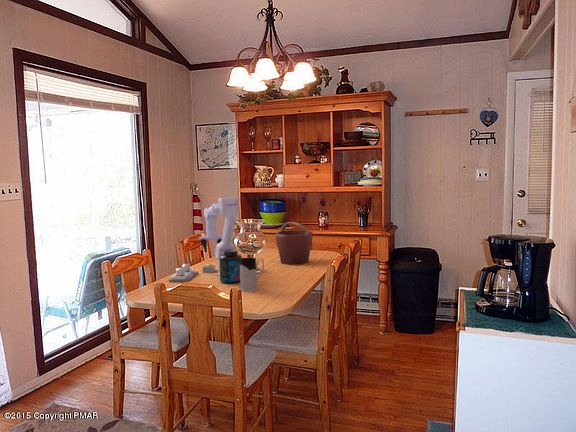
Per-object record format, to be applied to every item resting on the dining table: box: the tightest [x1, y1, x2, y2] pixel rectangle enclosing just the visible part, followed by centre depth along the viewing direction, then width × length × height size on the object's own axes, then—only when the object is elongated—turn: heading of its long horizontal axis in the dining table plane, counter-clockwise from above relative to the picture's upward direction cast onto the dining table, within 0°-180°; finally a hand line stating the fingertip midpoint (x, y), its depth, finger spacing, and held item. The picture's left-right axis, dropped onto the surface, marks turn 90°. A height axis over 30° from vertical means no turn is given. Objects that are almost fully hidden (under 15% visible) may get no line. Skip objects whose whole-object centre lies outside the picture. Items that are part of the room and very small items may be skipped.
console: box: [202, 264, 216, 273], centre depth 268 cm, size 6×6×3 cm
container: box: [218, 249, 243, 285], centre depth 242 cm, size 12×12×16 cm
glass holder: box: [240, 257, 265, 293], centre depth 226 cm, size 9×14×15 cm, turn 135°
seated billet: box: [175, 267, 184, 276], centre depth 248 cm, size 4×4×5 cm
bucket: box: [275, 221, 313, 266], centre depth 286 cm, size 24×22×25 cm
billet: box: [181, 263, 191, 272], centre depth 258 cm, size 4×4×5 cm
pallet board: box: [168, 269, 199, 283], centre depth 254 cm, size 20×10×3 cm, turn 175°
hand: (212, 252), depth 271 cm, fingers open, 7 cm apart
